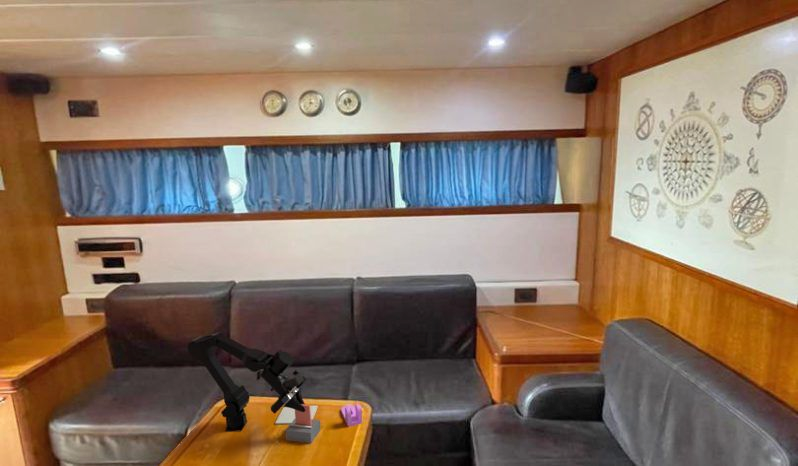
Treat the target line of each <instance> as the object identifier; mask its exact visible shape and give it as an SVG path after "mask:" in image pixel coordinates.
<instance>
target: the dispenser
mask: <svg viewBox="0 0 798 466" xmlns="http://www.w3.org/2000/svg"><path fill="white" fill-rule="evenodd" d="M311 422H312V426H303V425H296V419H294V420H293V422H292V423H291V424H288V426H287V428H286V429H285V439H286V440H287V441H291V442H292V441H293V442H300V443H305V444H306V443H307V444H312V443H313V442H314V440H315V438H317V436H318V434H319V433H320V432H321V421H320V419H313V420H312V419H311Z"/></svg>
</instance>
